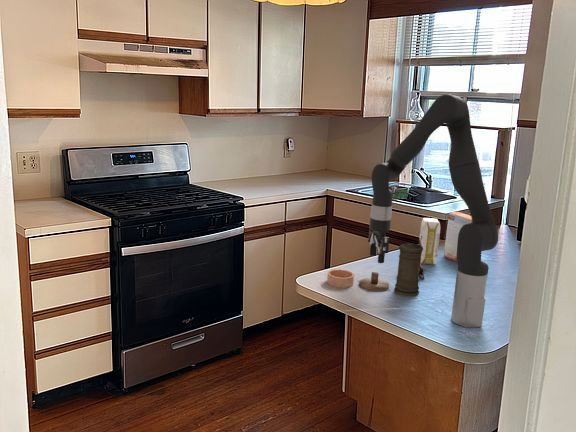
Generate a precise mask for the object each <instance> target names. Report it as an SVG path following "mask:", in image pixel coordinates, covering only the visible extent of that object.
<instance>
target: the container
mask: <svg viewBox="0 0 576 432" xmlns="http://www.w3.org/2000/svg"><path fill="white" fill-rule="evenodd" d="M398 248H399V255H398V267H397V268H398V269H397V275H396V283H395V285H394V288H393V289H394V293H396V294H397V295H400V296H401V297H402V296H403V297H417V296H418V295H419V294H420V290H419V289H420V287H419V282H420V277H419V276H420V275H419V270H420V265H421V263H420V262H421V253H422V251H423V247H422V246H420V245H419V243H418V244H417V243H412V242H403V243H400V244H399V247H398Z"/></svg>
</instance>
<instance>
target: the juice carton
mask: <svg viewBox="0 0 576 432" xmlns="http://www.w3.org/2000/svg"><path fill="white" fill-rule="evenodd" d="M440 234H441V223H440V221H439V220H438V218H432V217H431V218H430V217H422V221H421V223H420V231H419V238H418V239H419V240H418V245H420V246H422V247H423V251H422V253H421V262H420V265H421V264H423V265H432V266H433V265H436V263H437V259H438V252H439V251H438V250H439V246H440V245H439V242H440V237H441V235H440Z"/></svg>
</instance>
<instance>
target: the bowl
mask: <svg viewBox="0 0 576 432" xmlns="http://www.w3.org/2000/svg"><path fill="white" fill-rule="evenodd" d="M326 278H327V279H326V282H327V284H328V285H330V286H331V287H335V288H340V289H341V288H345V289H346V288H351V287H353V286H354V283H355V274H354V272H353V271H351V270H348V269H341V268H340V269H339V268H336V269H331V270H329V271H328V272H327V275H326Z"/></svg>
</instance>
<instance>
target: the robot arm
mask: <svg viewBox="0 0 576 432" xmlns="http://www.w3.org/2000/svg"><path fill="white" fill-rule="evenodd" d="M470 118H471V117H470V110H469V106H468V104H467V102H466V100H465V99H464V98H462V97H460V96H458V95H454V94H447V93H446V94H441V95H440V96H438V97H437V98H436V99H435V100H434V101H433V102H432V104H431V105H430V107H429V108H428V109H427V111H426V112H425V113H424V115H422V117H421V119H420V120H419V122H418V123H417V124H416V126H415V127H414V128H413V129H412V130H411V132H410V133H409V134H408V135H407V136H406V137H405V138H404V139H403V140H402V141H401V142H400V143H399V144H398V145H397V146H396V147H395V148H394V149H393V151H392V152H391V154H390V158H389V159H388V160H387V161H386V162H381V163H377V164H376V165H374V166H373V169H372V171H371V185H372V186H371V187H372V202H371V208H370V215H369V228H368V229H369V230H368V238H367V242H368V243H369V256H371V257H372V256H373V257H375V256H376V254H377V252H378V256H377V263H378V264H383V263H384V262H385V255H386V254H388V253H389V247H390V237H389V236H386V233H387V232H389V231H390V230H391V221H392V215H393V207H392V205H393V197H394V194H393V191H392V190H391V189H390V182H393V181H395V180H396V179H397V178H398V177H399V176H401V174H402V172H403V171H404V170H405V168H406V167H407V166H408V165H409V164H410V163H411V162H412V161H413V160H414V159H415V158H416V157H417V156H418V155H419V154H420V153H421V152H422V151H423V149H424V147H425V145H426V143H427V141H428V139H430V137H431V135H432V134H434V132H435V131H436V130H437V129H439V128H440V127H441V126H443V125H446V127H447V129H448V130H447V131H448V134H449V138H450V149H449V154H448V155H449V156H448V170H449V175H450V179H451V183H452V185H453V188H454V190H455V191H456V193H457V194H458V196H460V198H461V199H462V201H463V202H464V203H465V205H466V207H467V208H468V210H469V214H470V216H471V218H472V222H473V223H468V224H465V225H463V226H462V227H461V229H460V231H459V234H458V242H457V255H456V259H457V262H456V263H457V270H456V277H455V286H454V292H453V293H454V294H453V301H452V309H451V317H450V321H452V323H454V324H456V325H459V326H461V327H463V328H464V329H465V328H479V327H481V328H482V326H483V319H484V312H485V307H486V305H485V304H486V298H485V297H486V296H485V295H486V290H487V289H486V287H487V281H488V274H489V264H488V263H487V262H485V261H482V253H483V252H485V251H491V250H493V249H495V247H496V246H497V244H498V242H499V232H498V227H497V225H496V222H495V220H494V216H493V213H492V210H491V206H490V205H489V201H488V198H487V193H486V189H485V185H484V182H483V181H484V180H483V176H482V171H481V168H480V167H481V166H480V162H479V159H478V156H477V150H476V147H475V146H476V145H475V143H474V138H473V134H472V127H471V126H472V125H471V119H470ZM377 250H378V251H377Z"/></svg>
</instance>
